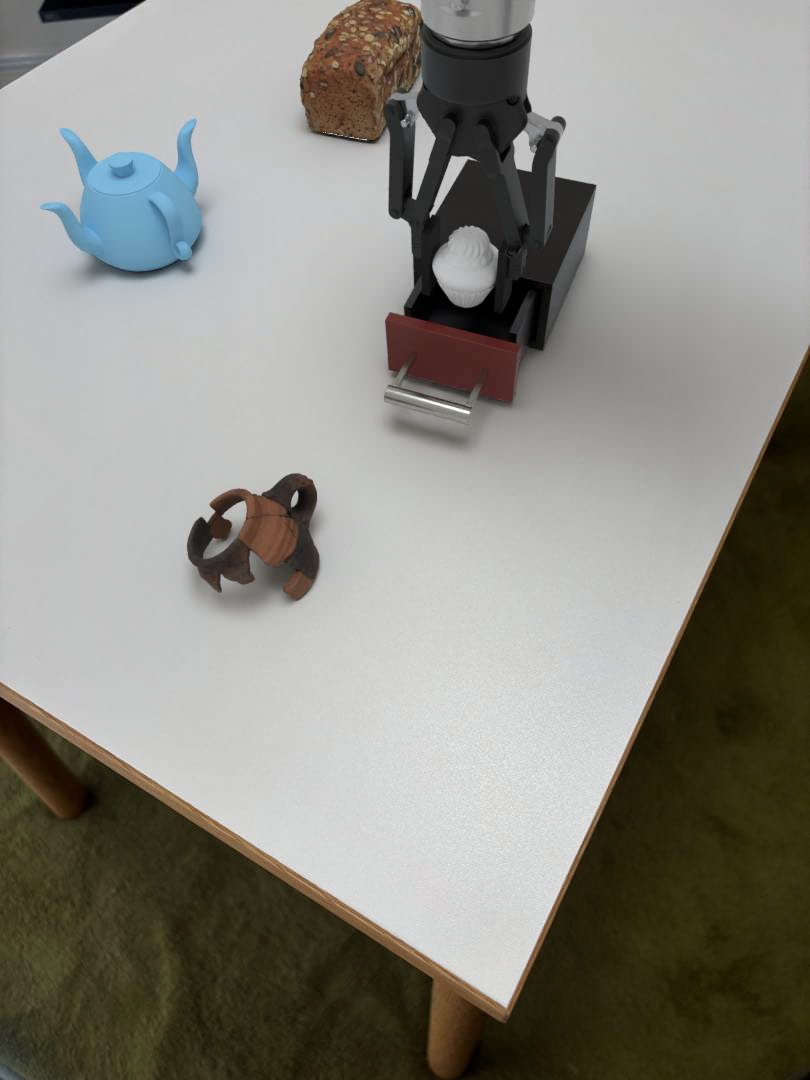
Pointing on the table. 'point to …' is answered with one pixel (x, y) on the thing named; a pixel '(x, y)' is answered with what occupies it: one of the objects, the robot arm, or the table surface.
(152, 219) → the teapot
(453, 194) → the drawer box
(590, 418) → the table surface
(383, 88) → the bread
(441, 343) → the red drawer
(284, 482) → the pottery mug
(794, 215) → the table surface
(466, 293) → the muffin
